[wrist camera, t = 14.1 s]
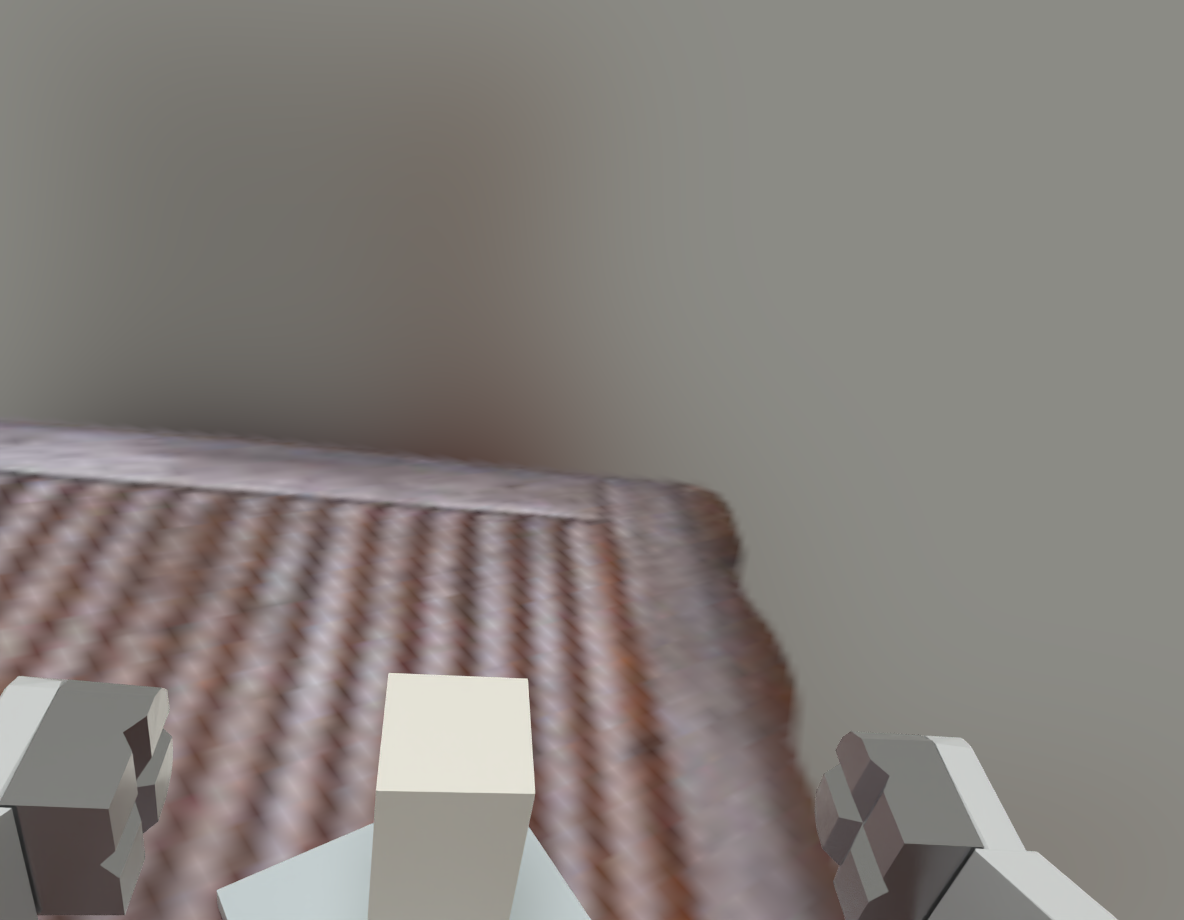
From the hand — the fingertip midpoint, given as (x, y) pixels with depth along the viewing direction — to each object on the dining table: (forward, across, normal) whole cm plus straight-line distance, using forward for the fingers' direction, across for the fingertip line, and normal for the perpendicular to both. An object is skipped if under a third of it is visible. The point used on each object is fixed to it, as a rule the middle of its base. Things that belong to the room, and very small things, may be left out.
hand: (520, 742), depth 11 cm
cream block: (+11, 0, +26) cm, 28 cm away
